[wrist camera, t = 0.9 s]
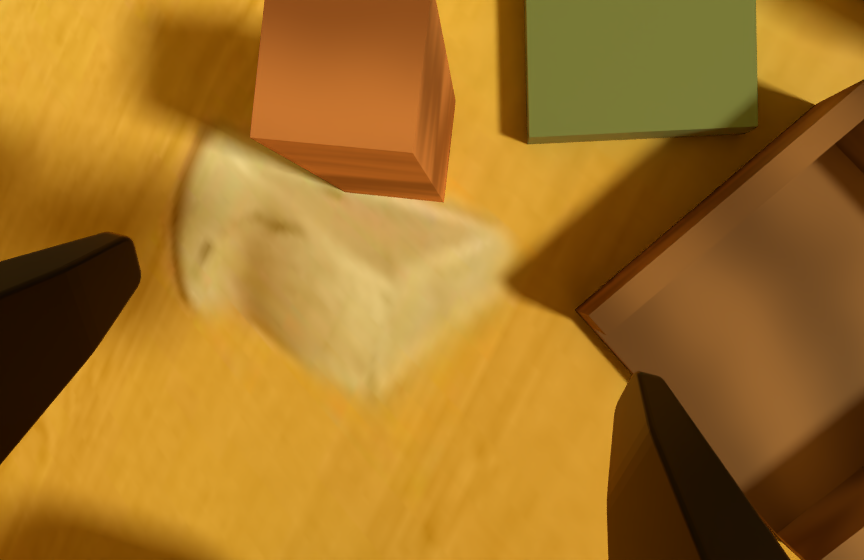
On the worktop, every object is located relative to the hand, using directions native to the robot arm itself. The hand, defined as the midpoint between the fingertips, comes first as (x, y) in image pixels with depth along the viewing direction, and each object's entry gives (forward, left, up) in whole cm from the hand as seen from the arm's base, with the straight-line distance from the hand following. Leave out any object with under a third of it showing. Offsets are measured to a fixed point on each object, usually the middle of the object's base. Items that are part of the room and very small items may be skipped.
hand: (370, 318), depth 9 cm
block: (-1, +7, -15) cm, 17 cm away
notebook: (+10, +11, -15) cm, 21 cm away
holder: (+14, -4, -15) cm, 21 cm away
